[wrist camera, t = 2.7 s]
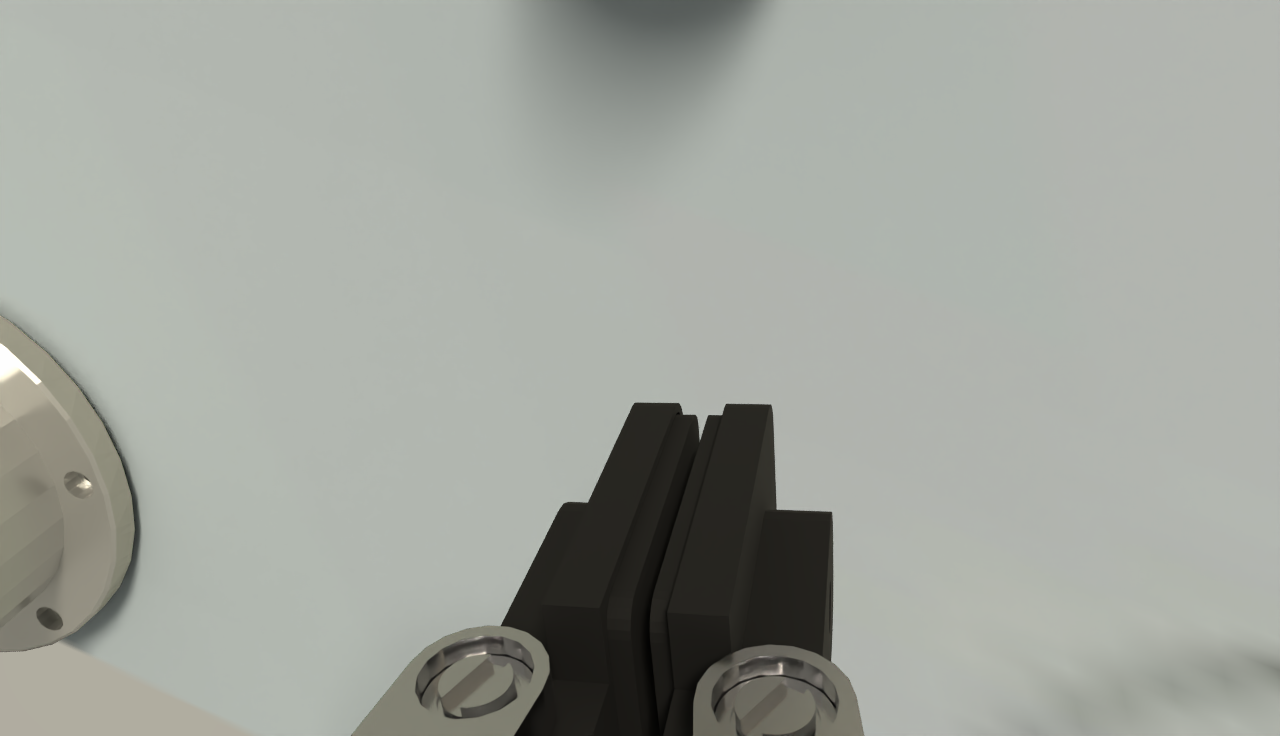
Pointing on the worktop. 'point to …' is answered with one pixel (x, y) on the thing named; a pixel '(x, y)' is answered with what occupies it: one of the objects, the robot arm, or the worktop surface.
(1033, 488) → the worktop surface
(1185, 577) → the worktop surface
